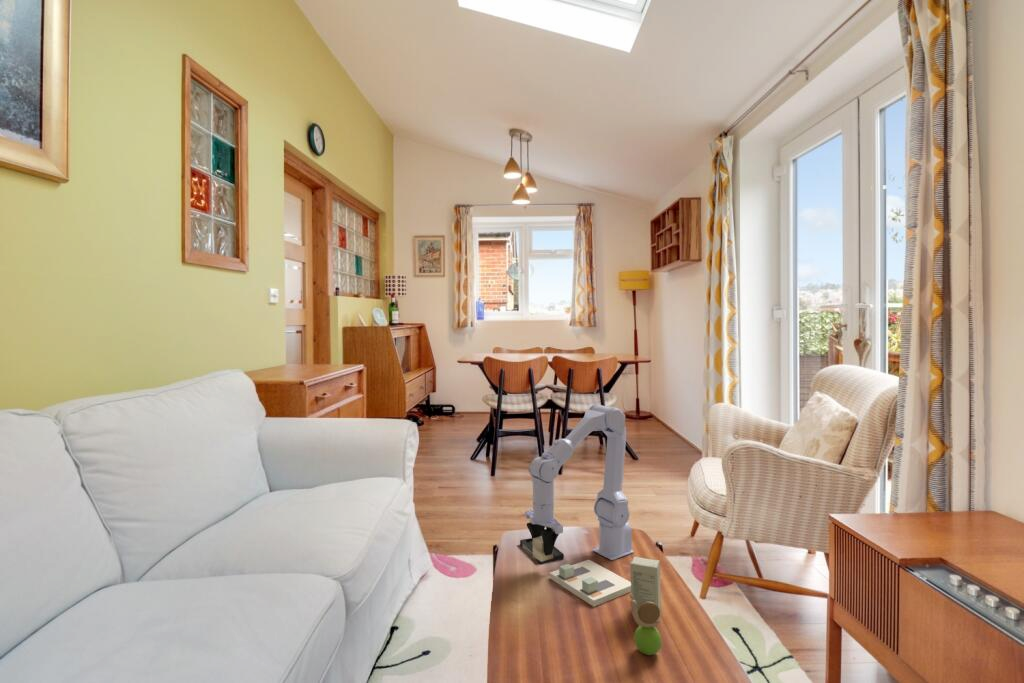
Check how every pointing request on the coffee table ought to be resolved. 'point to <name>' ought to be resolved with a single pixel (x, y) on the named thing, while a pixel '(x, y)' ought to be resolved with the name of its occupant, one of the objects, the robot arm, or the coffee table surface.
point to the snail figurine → (646, 627)
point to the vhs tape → (528, 546)
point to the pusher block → (540, 550)
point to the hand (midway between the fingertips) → (543, 551)
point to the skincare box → (645, 581)
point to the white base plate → (607, 580)
